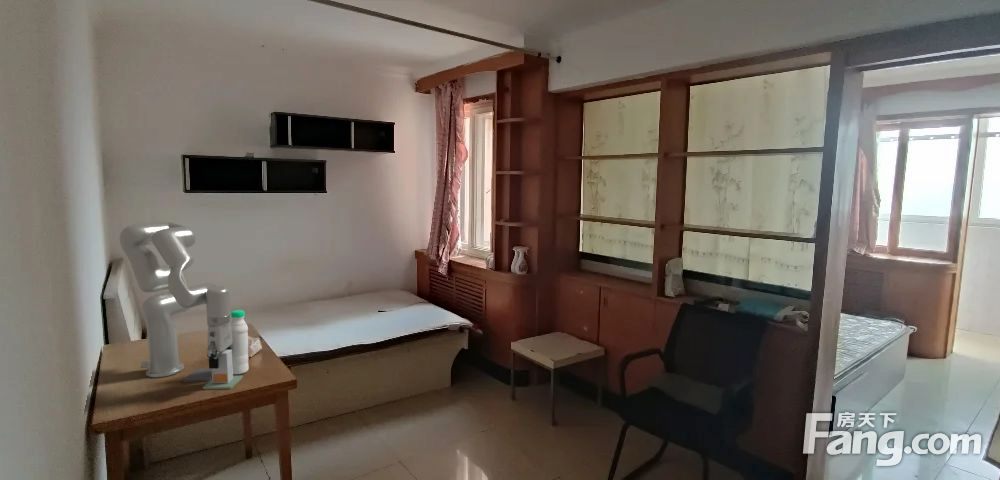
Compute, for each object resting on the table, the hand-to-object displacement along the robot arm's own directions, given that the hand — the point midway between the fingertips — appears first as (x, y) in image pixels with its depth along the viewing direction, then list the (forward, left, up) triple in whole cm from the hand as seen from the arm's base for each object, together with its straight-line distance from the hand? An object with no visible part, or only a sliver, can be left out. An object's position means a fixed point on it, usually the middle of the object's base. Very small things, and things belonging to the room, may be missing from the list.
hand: (220, 362), depth 183 cm
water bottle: (+2, +10, -8) cm, 13 cm away
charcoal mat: (-10, +7, -8) cm, 15 cm away
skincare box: (+1, 0, -7) cm, 8 cm away
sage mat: (+1, 0, -8) cm, 8 cm away
